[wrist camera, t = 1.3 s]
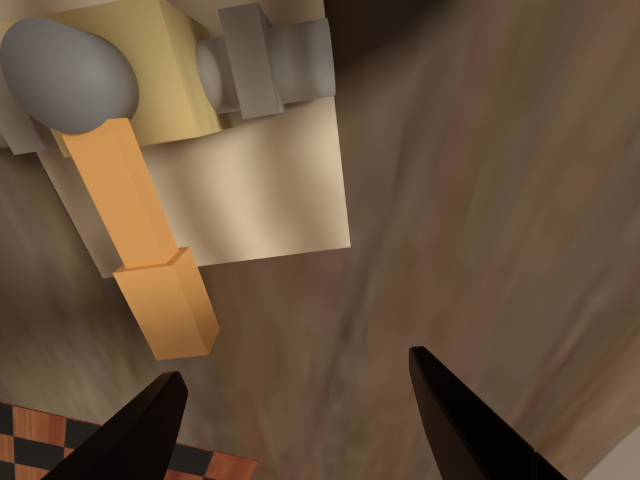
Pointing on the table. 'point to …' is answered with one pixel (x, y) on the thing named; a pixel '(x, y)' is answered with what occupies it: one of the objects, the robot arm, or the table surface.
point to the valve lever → (112, 173)
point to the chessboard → (67, 434)
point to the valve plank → (226, 167)
